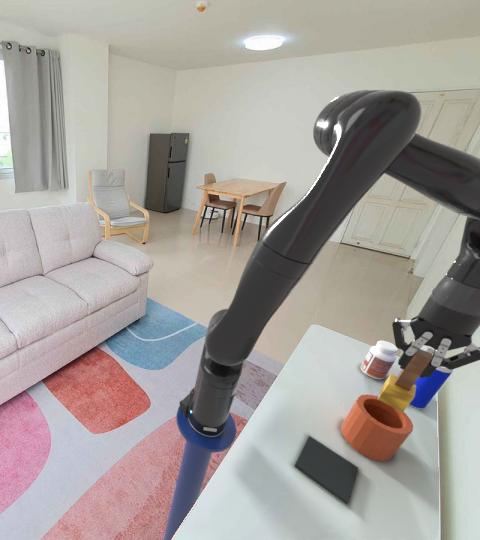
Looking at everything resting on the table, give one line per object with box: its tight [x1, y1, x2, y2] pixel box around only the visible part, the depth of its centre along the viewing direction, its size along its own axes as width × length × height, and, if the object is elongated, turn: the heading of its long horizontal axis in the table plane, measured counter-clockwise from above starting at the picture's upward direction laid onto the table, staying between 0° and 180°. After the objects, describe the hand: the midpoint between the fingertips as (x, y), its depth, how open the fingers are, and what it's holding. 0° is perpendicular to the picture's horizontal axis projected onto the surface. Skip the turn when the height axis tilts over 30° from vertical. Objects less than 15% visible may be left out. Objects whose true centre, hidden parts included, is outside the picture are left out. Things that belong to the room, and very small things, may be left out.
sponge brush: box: [378, 348, 433, 412], centre depth 63 cm, size 4×4×14 cm
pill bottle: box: [360, 340, 399, 380], centre depth 90 cm, size 6×6×11 cm
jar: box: [340, 393, 414, 462], centre depth 70 cm, size 10×10×10 cm
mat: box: [294, 435, 359, 504], centre depth 66 cm, size 10×10×1 cm
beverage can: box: [408, 366, 454, 410], centre depth 80 cm, size 5×5×15 cm
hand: (411, 371), depth 62 cm, fingers closed on sponge brush, 2 cm apart
